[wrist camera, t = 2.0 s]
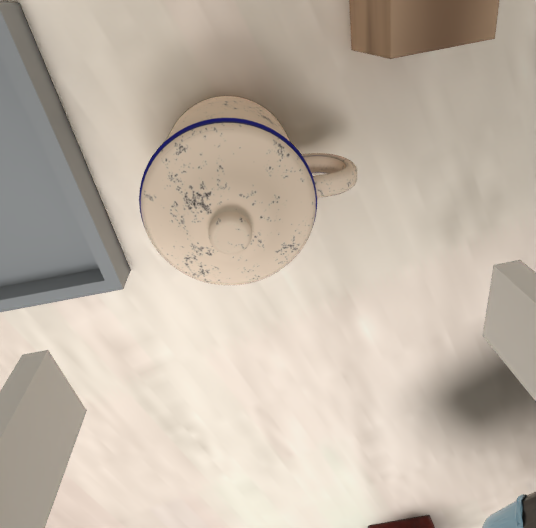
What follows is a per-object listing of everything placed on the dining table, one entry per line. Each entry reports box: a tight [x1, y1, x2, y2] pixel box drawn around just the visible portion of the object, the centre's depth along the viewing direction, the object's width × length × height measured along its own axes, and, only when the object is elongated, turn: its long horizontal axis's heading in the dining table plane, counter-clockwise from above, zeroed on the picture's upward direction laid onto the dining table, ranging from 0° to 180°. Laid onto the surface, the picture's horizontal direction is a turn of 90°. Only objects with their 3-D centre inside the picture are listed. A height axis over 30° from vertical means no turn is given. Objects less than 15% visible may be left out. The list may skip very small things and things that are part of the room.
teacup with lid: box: [139, 96, 357, 285], centre depth 23 cm, size 12×9×12 cm
